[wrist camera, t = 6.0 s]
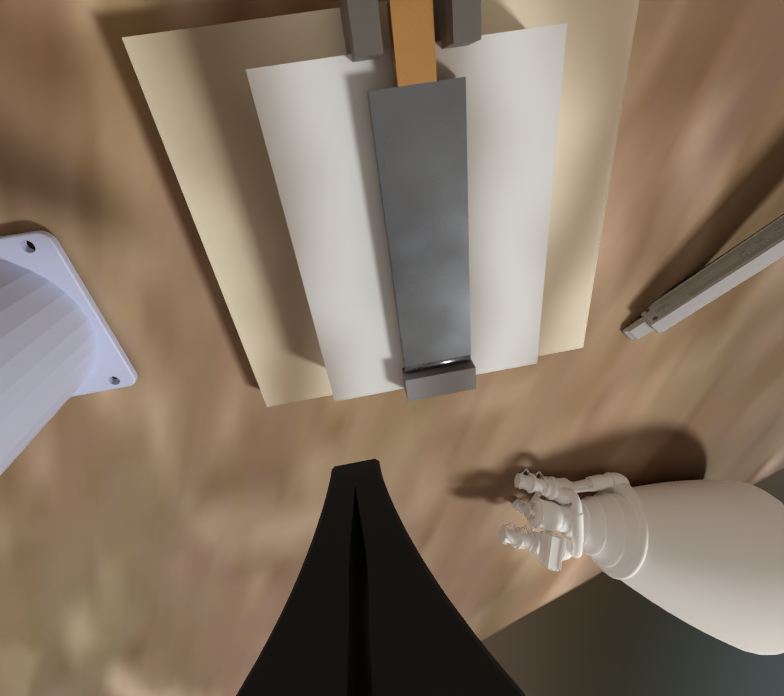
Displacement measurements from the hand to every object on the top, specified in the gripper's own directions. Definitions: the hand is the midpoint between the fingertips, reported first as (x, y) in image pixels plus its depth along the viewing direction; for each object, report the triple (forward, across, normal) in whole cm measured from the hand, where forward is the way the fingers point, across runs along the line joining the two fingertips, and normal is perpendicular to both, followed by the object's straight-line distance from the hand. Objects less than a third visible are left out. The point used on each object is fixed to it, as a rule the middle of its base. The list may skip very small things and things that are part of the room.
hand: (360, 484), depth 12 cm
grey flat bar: (+7, -4, -6) cm, 10 cm away
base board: (+10, -4, -4) cm, 12 cm away
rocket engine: (+11, -18, +18) cm, 28 cm away
